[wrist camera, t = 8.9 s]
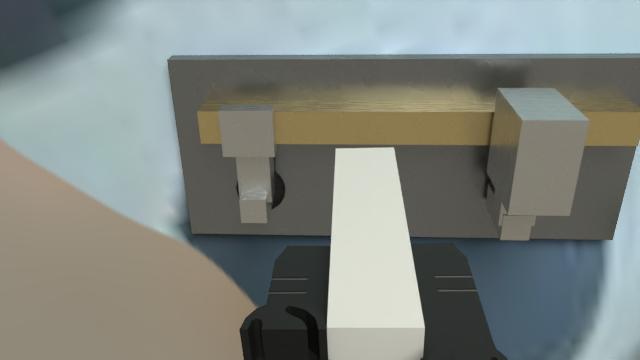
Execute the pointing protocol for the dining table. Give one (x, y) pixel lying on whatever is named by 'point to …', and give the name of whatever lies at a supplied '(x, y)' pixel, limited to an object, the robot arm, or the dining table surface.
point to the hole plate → (412, 160)
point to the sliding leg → (532, 158)
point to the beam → (368, 131)
